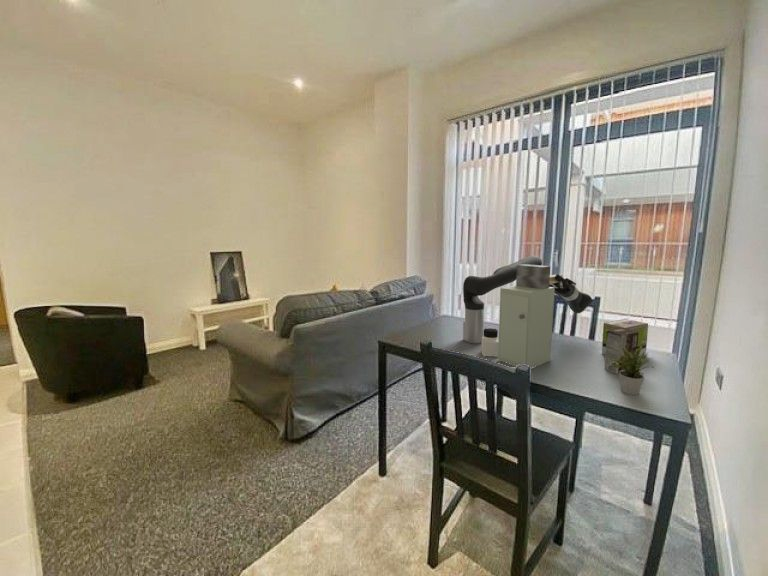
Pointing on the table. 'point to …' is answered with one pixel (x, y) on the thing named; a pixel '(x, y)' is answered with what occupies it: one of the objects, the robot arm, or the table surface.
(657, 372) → the table surface
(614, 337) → the coffee box
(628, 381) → the house plant
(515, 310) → the cabinet
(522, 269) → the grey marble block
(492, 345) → the medicine bottle
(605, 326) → the tea box
